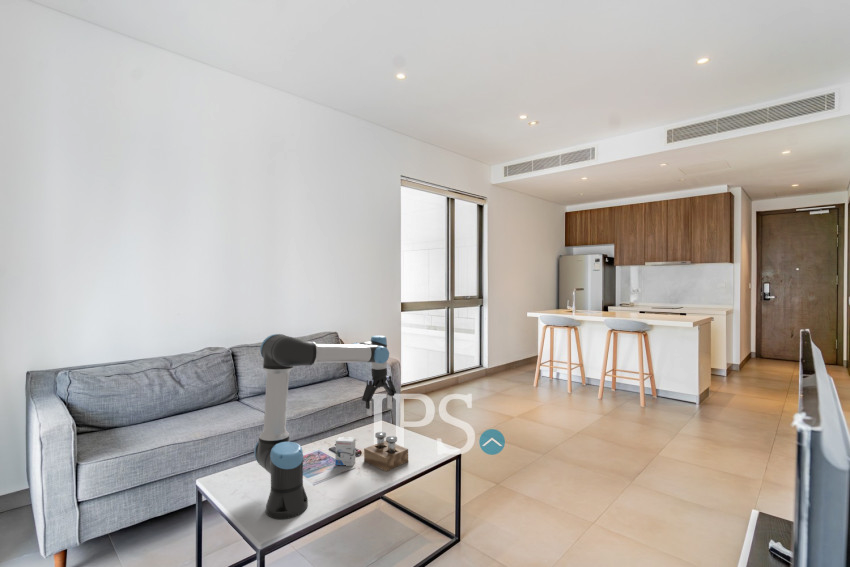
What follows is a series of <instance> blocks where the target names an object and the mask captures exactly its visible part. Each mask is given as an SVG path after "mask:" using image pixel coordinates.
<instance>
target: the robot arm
mask: <svg viewBox="0 0 850 567" xmlns="http://www.w3.org/2000/svg"><path fill="white" fill-rule="evenodd" d="M387 342H388V341H387V337H386V336H385V335H372V336H371V338H370V340H369V341H361V342H353V343H350V344H344V343H343V344H341V343H339V344H337V343H335V344H333V343H331V344H330V343H316V342H315V341H314V340H313V341H312V340H303V339H299V338H296V337H293V336H289V335H285V334H281V333H275V334H271V335H268V336H267V337H266V338H264V340H263V341H262V343H261V344H260V349H259V350H260V354H261V357H262V358H263V361H262V362H263V364H262V368H263V370H264V371H265V372H266V380H265V381H266V383H265V395H264V396H265V397H264V415H263V429H262V430H263V431H262V432H261V433H260V434H259V436H258V441H257V442H256V444H255V446H254V450H253V451H254V452H253V453H254V454H253V455H254V458H255V460H256V462H257V464H258V465H260V466H261V467H262V468H263V469H264V470H265V471H266V472H267V473H269V475H270V492H269V495H268V498H267V502H266V505H265V513H266V515H267V517H269V518H271V519H275V520H285V519H287V520H288V519H291V518H295V517H297V516H299V515H300V514H301V515H302V513H304V512H305V511H306V509H308V506H309V505H308V504H309V503H308V502H309V500H308V496H307V493H306V489H305V487H304V453H303V448H302V446H301V445H300V444H299V443H297V442H293V441H290V433H289V431H287V414H288V413H287V412H288V396H289V381H290V380H289V379H290V378H289V377H290V371H291V370H293V368H294V367H303V366H313V365H314V364H321V363H323V364H324V363H325V364H327V363H329V364H331V363H332V364H333V363H337V364H338V363H371V364H370V365H371V377H372V378H371V379H367V380H366V386H365V389H364V392H363V395H362V398H361V401H362V402H365V409H366V415H367V416H370V417H371V416H372V415H373V414H372V413H373V411H372V410H373V408H372V407H373V406H372V403H373V402H372V401H371V400H372V398H373V396H374V395H375V392H376V391H377V390H378V388H379V389H380V388H384V390H385V391H386V393H387V395H386V397H387V398H386V401H387V402H386V403H387V404H386V406H387V407H386V408H387V410H393V402H394V400H393V399H394V396H395V394H396V393H397V391H396V388H395V385H394V383H393V380H392V378H393V377H392V376H391V375H388V368H387V367H388V360H389V358H390V352H389V349H388V343H387Z"/></svg>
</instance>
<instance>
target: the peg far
mask: <svg viewBox="0 0 850 567" xmlns="http://www.w3.org/2000/svg"><path fill="white" fill-rule="evenodd" d="M374 436H375V438H376V444H377V448H378V449H382V448H384V441H385V439H386V438H387V433H386V432H384V431H379V432H376V433H375V435H374Z"/></svg>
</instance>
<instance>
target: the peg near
mask: <svg viewBox="0 0 850 567" xmlns="http://www.w3.org/2000/svg"><path fill="white" fill-rule="evenodd" d="M385 441H386V442H388V453H390V454H393V453H395V444H396V443H397V442H398V437H397V436H395V435H389V436H386V437H385Z"/></svg>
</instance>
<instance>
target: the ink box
mask: <svg viewBox="0 0 850 567" xmlns="http://www.w3.org/2000/svg"><path fill="white" fill-rule="evenodd" d="M334 458H335V461H334V462H335V466H336V465H346V466H345V467H354V465H355V463H356V437H352V436H351V437H350V436H344V437H343V436H339V437H337V438H336V440H335V457H334Z"/></svg>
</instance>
